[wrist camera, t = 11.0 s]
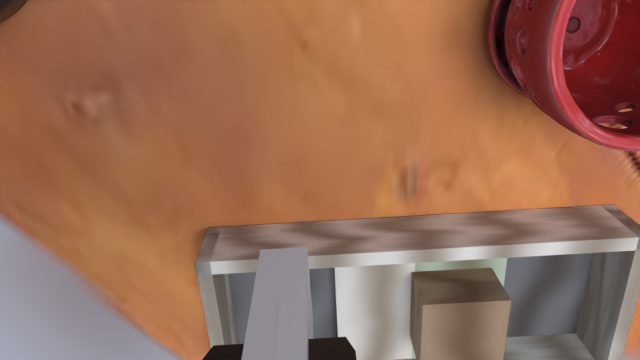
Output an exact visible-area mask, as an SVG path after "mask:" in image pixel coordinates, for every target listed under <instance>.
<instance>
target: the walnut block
mask: <svg viewBox="0 0 640 360" xmlns="http://www.w3.org/2000/svg"><path fill="white" fill-rule="evenodd" d="M510 307H511V299H510V297H509V296H508V294H507V292H506V291H505V289H504V287H503V286H502V284H501V282H500V281H499V279H498V277H497V276H496V274H495V272H494V271H493V269H492V268H475V269H456V270H437V271H419V272H412V277H411V306H410V338H411V341H412V345H413V349H414V352H415V356H416V360H503V357H504V350H505V342H506V335H507V328H508V321H509V314H510Z"/></svg>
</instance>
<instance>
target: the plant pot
mask: <svg viewBox="0 0 640 360" xmlns="http://www.w3.org/2000/svg"><path fill="white" fill-rule="evenodd" d="M488 45H489V51H490V55H491V59H492V62H493V64H494V66H495V68H496V70H497V72H498V73H499V75H500V76H501V78H502V79H503V80H504V81H505V82H506V83H507V84H508V85H509V86H510V87H511V88H512V89H514V90H515V91H516V92H518V93H520V94H521V95H523V96H525V97H528V98H530V99H531V100H532V101H533V102H534V103H535V104H536V105H537V107H538V108H539V109H541V110H542V111H543V112H544V113H546V114H547V115H548V116H550V117H551V118H552V119H554V120H555V121H556V122H558V123H559V124H560V125H562V126H563V127H565V128H567V129H568V130H570V131H572V132H574V133H575V134H577V135H579V136H581V137H583V138H585V139H587V140H590V141H592V142H594V143H596V144H599V145H602V146H605V147H608V148H611V149H617V150H624V151H640V0H494V2H493V5H492V8H491V12H490V17H489V23H488ZM622 109H633V110H631V111H627V112H618V111H619V110H622ZM598 123H613V124H620V125H623V126H626V127H628V128H625V129H616V128H610V127H606V126H603V125H599V124H598Z"/></svg>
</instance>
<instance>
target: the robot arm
mask: <svg viewBox="0 0 640 360" xmlns="http://www.w3.org/2000/svg"><path fill="white" fill-rule="evenodd" d="M25 2H26V0H0V22H1V21H3V20H5V19H7V18H8V17H10V16H11V15H12V14H14V13H15V12H16V11H17V10H18V9H19V8H20V7H21V6H22V5H23V4H24V3H25ZM202 360H357V359H356V351H355V349H354V348H353V346H352V345H351V343H350V342H349V341H348V339H347V338H346V337H333V338H315V339H313V314H312V301H311V288H310V275H309V262H308V248H307V247H298V248H281V249H263V250H260V255H259V260H258V266H257V272H256V278H255V283H254V289H253V295H252V301H251V307H250V312H249V318H248V324H247V330H246V336H245V341H244V344H230V345H213V347H212V348H211V349H210V350H209V352H208V353H207V354H206V356H205V357H204V358H203V359H202Z"/></svg>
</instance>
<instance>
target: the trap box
mask: <svg viewBox="0 0 640 360" xmlns="http://www.w3.org/2000/svg"><path fill="white" fill-rule="evenodd" d="M298 247H307V248H308V262H309V275H310V288H311V301H312V314H313V339H315V338H333V337H346V338H347V339H348V341H349V342H350V343H351V345H352V346H353V348H354V349H355V351H356V359H357V360H416V356H415V352H414V349H413V345H412V341H411V338H410V306H411V277H412V272H419V271H437V270H456V269H475V268H492V269H493V271H494V272H495V274H496V276H497V277H498V279H499V281H500V282H501V284H502V286H503V287H504V289H505V291H506V292H507V294H508V296H509V297H510V299H511V307H510V314H509V321H508V328H507V335H506V342H505V350H504V357H503V360H621V359H622V355H623V351H624V347H625V344H626V340H627V336H628V333H629V329H630V325H631V321H632V318H633V314H634V310H635V306H636V303H637V299H638V295H639V292H640V225H639V224H638V223H636V222H635V221H634V220H633V219H631V218H630V217H629V216H627V215H626V214H625V213H624V212H622V211H621V210H620V209H619V208H617V207H616V206H615V205H596V206H578V207H561V208H543V209H526V210H508V211H491V212H473V213H456V214H439V215H421V216H404V217H386V218H369V219H351V220H334V221H316V222H299V223H281V224H264V225H246V226H229V227H211V228H208V230H207V232H206V235H205V237H204V240H203V242H202V245H201V248H200V250H199V253H198V255H197V258H196V261H195V267H196V272H197V277H198V283H199V288H200V293H201V298H202V304H203V309H204V314H205V319H206V324H207V330H208V335H209V340H210V345H211V348H212V347H213V345H230V344H244V341H245V336H246V330H247V324H248V318H249V312H250V307H251V301H252V295H253V289H254V283H255V278H256V272H257V266H258V260H259V255H260V250H263V249H281V248H298Z"/></svg>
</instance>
